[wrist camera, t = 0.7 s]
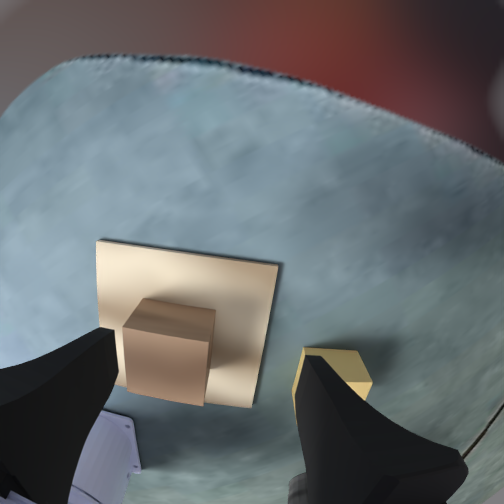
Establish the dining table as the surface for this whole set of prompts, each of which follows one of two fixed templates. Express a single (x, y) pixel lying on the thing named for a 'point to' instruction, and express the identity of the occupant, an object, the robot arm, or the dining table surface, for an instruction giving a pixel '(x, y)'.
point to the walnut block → (168, 351)
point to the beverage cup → (298, 490)
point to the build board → (198, 295)
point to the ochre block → (340, 369)
